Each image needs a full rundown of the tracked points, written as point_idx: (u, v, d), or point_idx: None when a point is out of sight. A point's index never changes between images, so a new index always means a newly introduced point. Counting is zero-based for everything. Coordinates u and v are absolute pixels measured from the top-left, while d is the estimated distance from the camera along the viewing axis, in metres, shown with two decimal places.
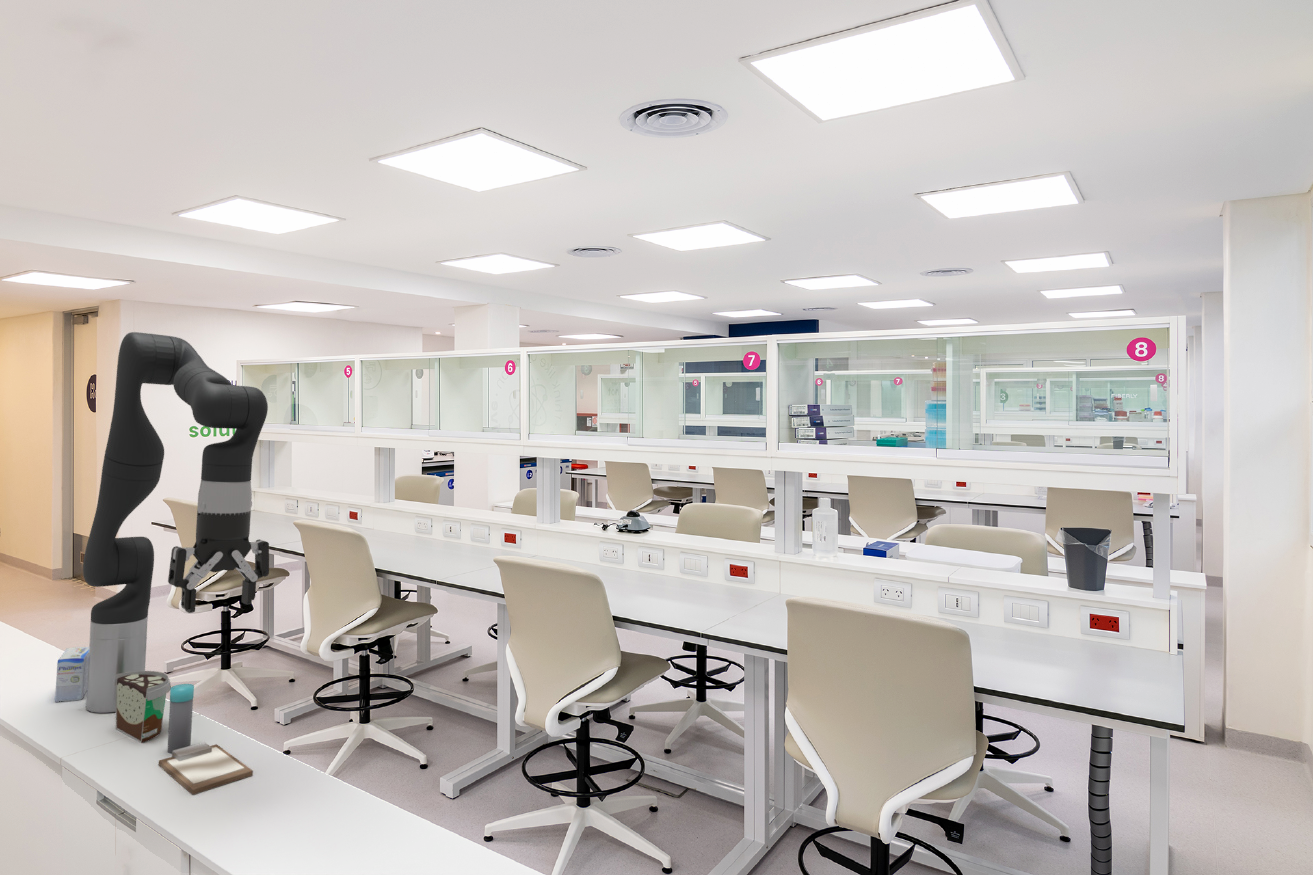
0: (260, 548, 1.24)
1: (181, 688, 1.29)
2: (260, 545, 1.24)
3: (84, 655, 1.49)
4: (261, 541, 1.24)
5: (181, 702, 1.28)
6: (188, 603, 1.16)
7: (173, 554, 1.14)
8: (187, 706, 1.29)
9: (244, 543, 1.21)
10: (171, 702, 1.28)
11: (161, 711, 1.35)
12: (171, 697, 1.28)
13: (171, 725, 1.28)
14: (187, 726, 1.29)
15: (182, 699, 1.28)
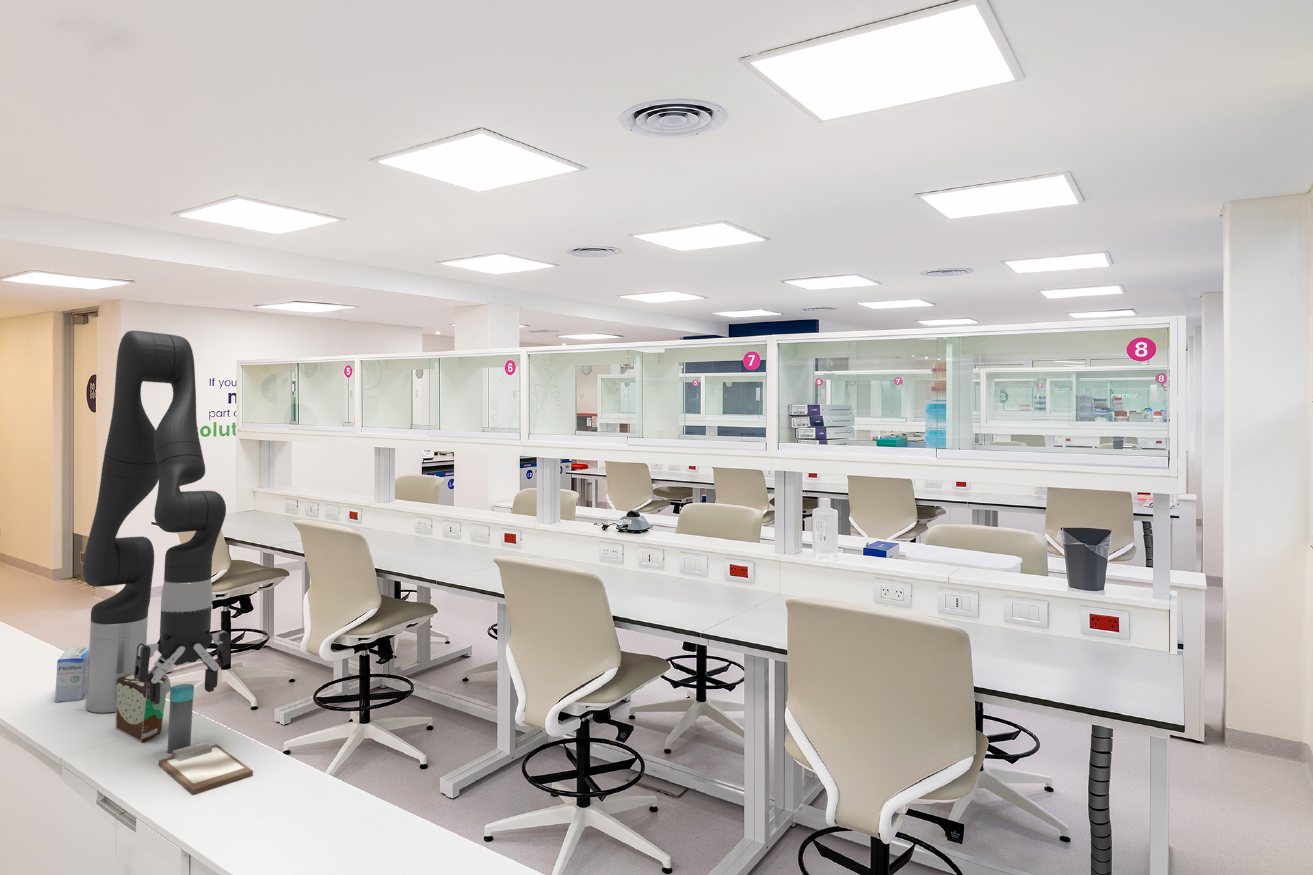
0: (221, 639, 1.33)
1: (181, 688, 1.29)
2: (221, 635, 1.34)
3: (84, 655, 1.49)
4: (222, 632, 1.34)
5: (181, 702, 1.28)
6: (153, 696, 1.25)
7: (138, 651, 1.24)
8: (187, 706, 1.29)
9: (206, 636, 1.31)
10: (171, 702, 1.28)
11: (161, 711, 1.35)
12: (171, 697, 1.28)
13: (171, 725, 1.28)
14: (187, 726, 1.29)
15: (182, 699, 1.28)
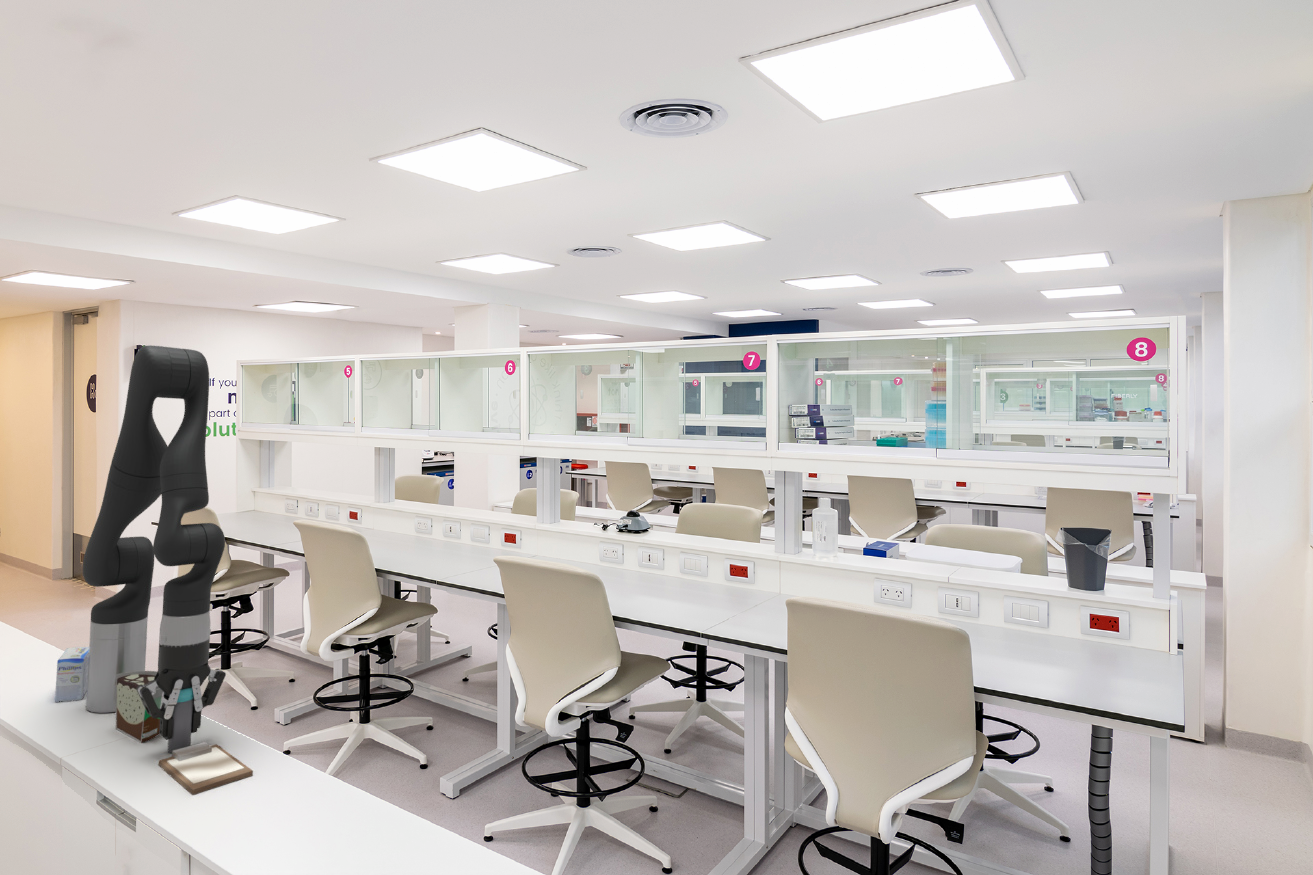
0: (216, 677, 1.33)
1: None
2: (217, 673, 1.34)
3: (84, 655, 1.49)
4: (220, 670, 1.34)
5: (181, 702, 1.28)
6: (165, 731, 1.27)
7: (139, 693, 1.25)
8: (187, 706, 1.29)
9: (206, 667, 1.32)
10: None
11: None
12: None
13: None
14: (187, 726, 1.29)
15: (182, 699, 1.28)
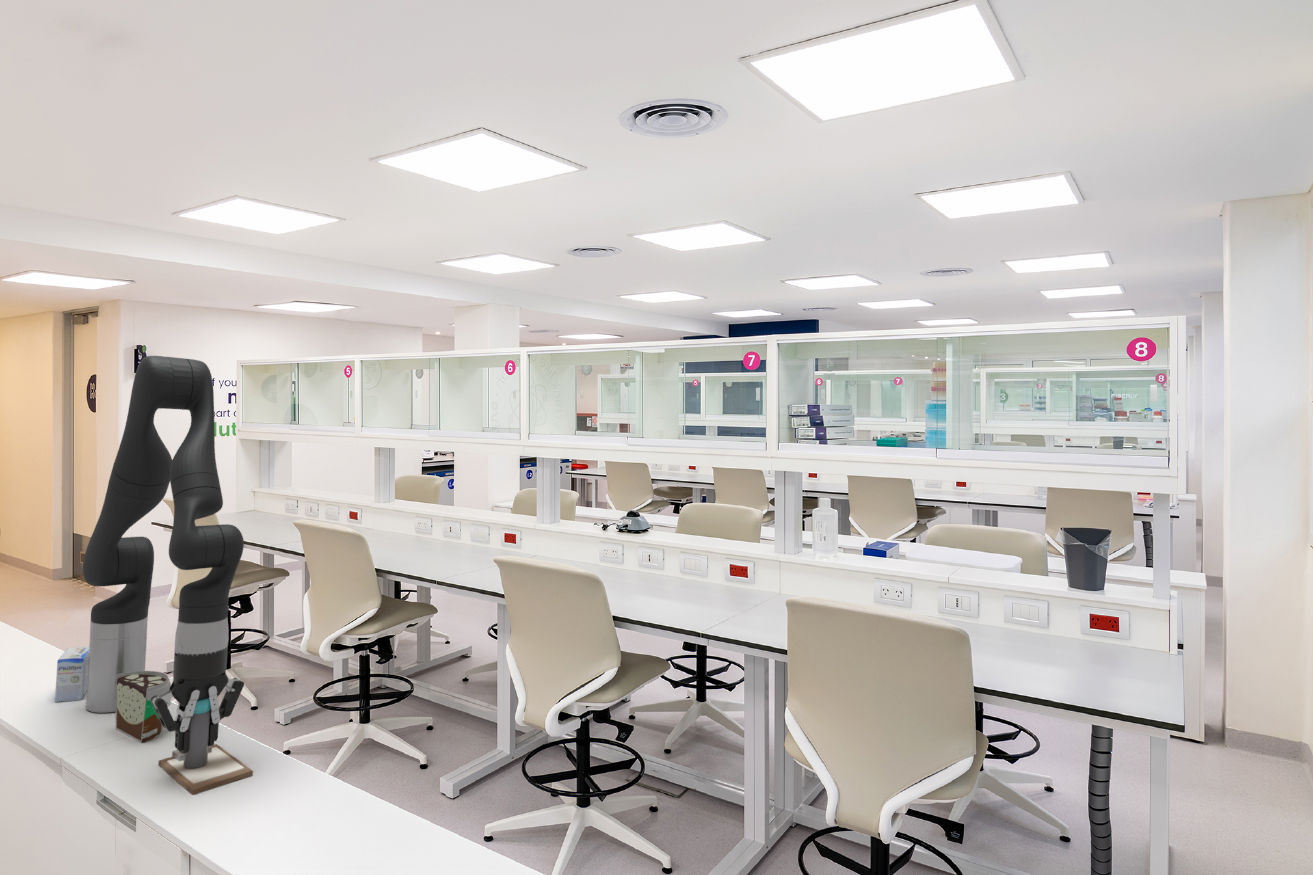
0: (234, 687, 1.26)
1: None
2: (235, 683, 1.27)
3: (84, 655, 1.49)
4: (238, 680, 1.27)
5: (198, 713, 1.21)
6: (181, 744, 1.20)
7: (154, 705, 1.18)
8: (204, 718, 1.22)
9: (223, 677, 1.25)
10: None
11: None
12: None
13: None
14: (204, 739, 1.22)
15: (199, 711, 1.21)
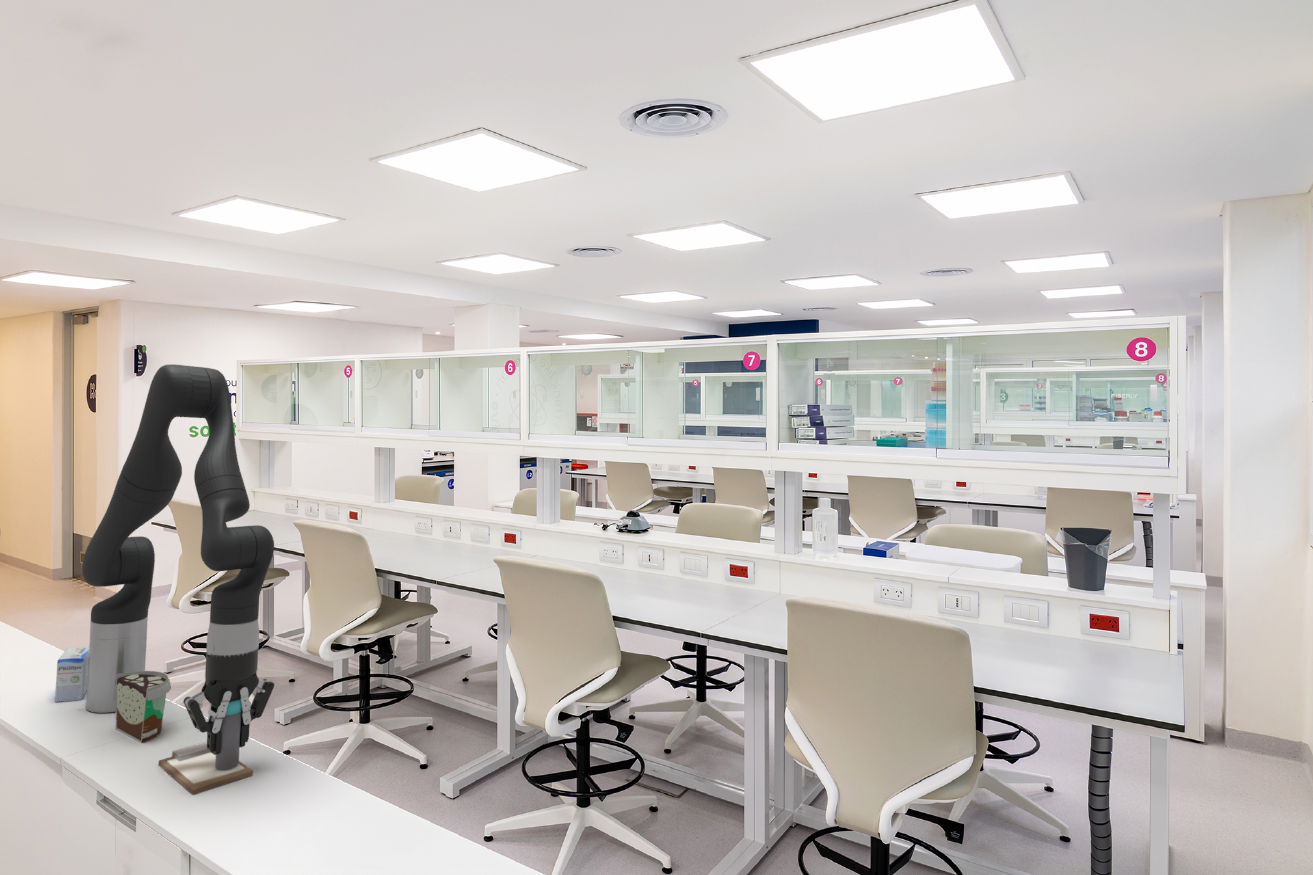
0: (265, 688, 1.26)
1: None
2: (266, 684, 1.27)
3: (84, 655, 1.49)
4: (268, 681, 1.27)
5: (229, 715, 1.21)
6: (213, 745, 1.20)
7: (186, 706, 1.18)
8: (236, 719, 1.22)
9: (254, 678, 1.25)
10: None
11: (161, 711, 1.35)
12: None
13: None
14: (235, 740, 1.22)
15: (231, 712, 1.21)
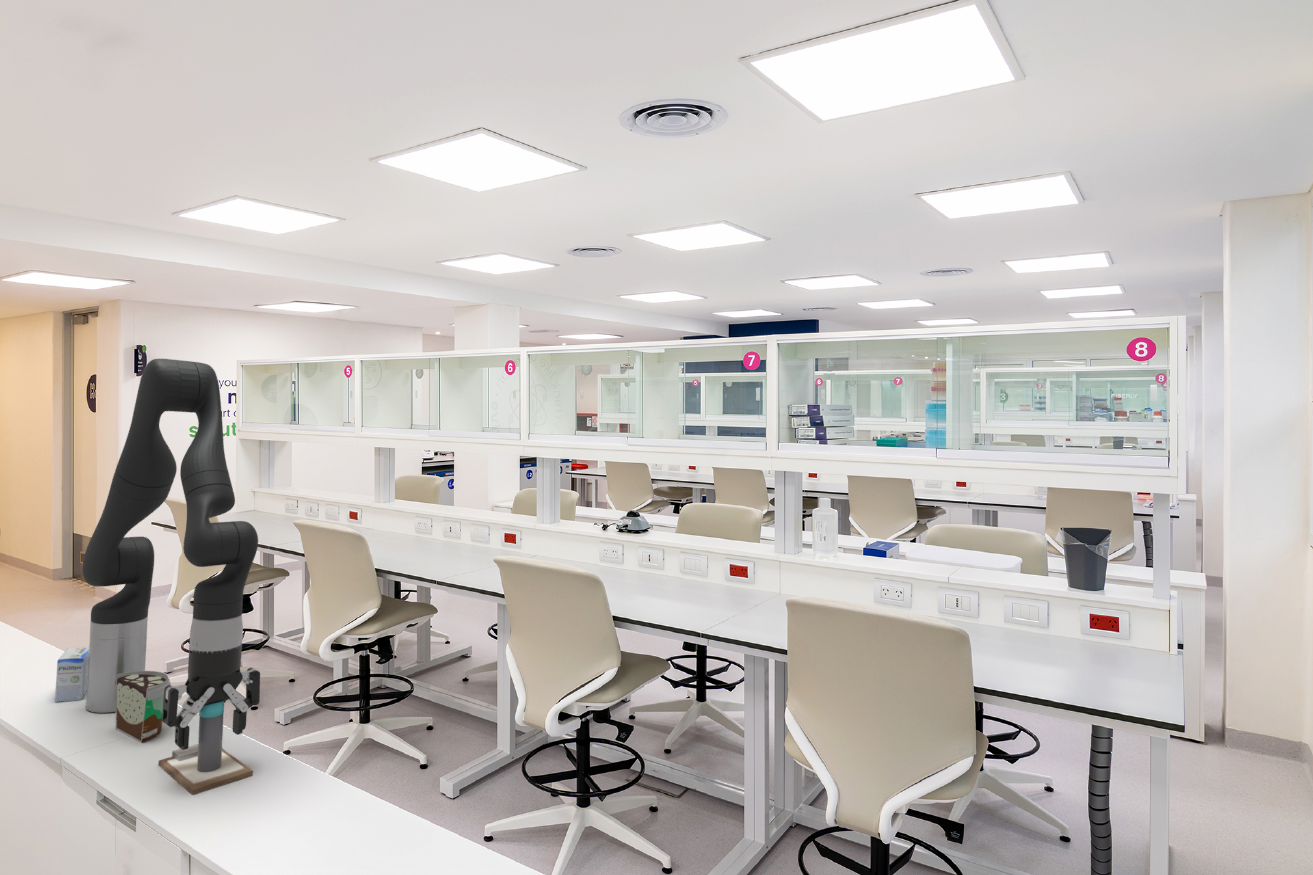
0: (251, 678, 1.26)
1: None
2: (251, 674, 1.26)
3: (84, 655, 1.49)
4: (252, 670, 1.27)
5: (211, 717, 1.21)
6: (181, 740, 1.18)
7: (165, 694, 1.17)
8: (218, 722, 1.21)
9: (236, 675, 1.24)
10: (201, 717, 1.21)
11: (161, 711, 1.35)
12: (201, 712, 1.21)
13: (201, 742, 1.20)
14: (217, 743, 1.22)
15: (212, 714, 1.21)
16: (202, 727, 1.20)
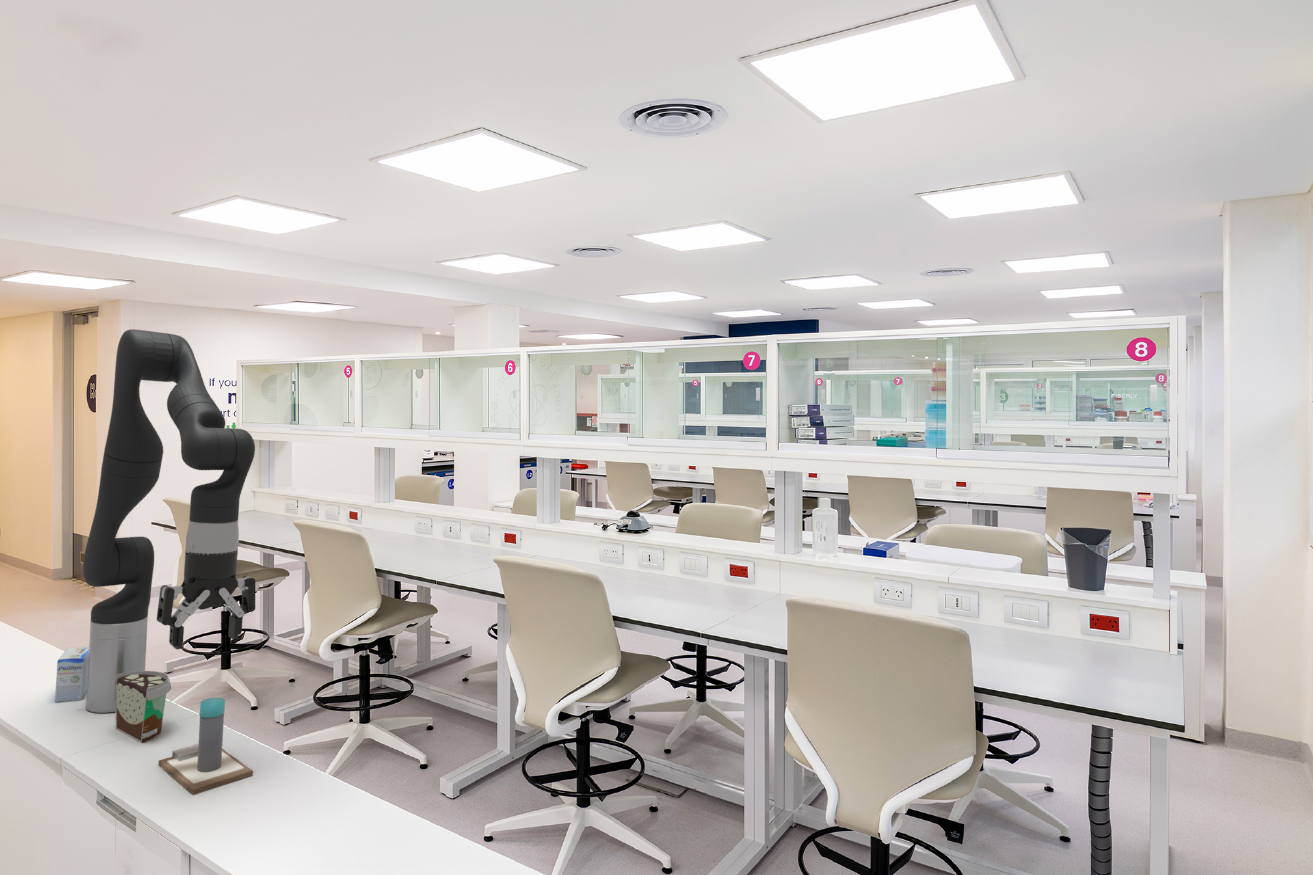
0: (247, 584, 1.27)
1: (212, 702, 1.21)
2: (246, 581, 1.27)
3: (84, 655, 1.49)
4: (248, 577, 1.28)
5: (212, 717, 1.21)
6: (176, 640, 1.19)
7: (161, 593, 1.18)
8: (218, 722, 1.21)
9: (231, 580, 1.25)
10: (201, 717, 1.21)
11: (161, 711, 1.35)
12: (201, 712, 1.21)
13: (201, 742, 1.21)
14: (218, 743, 1.22)
15: (213, 714, 1.21)
16: (202, 727, 1.20)
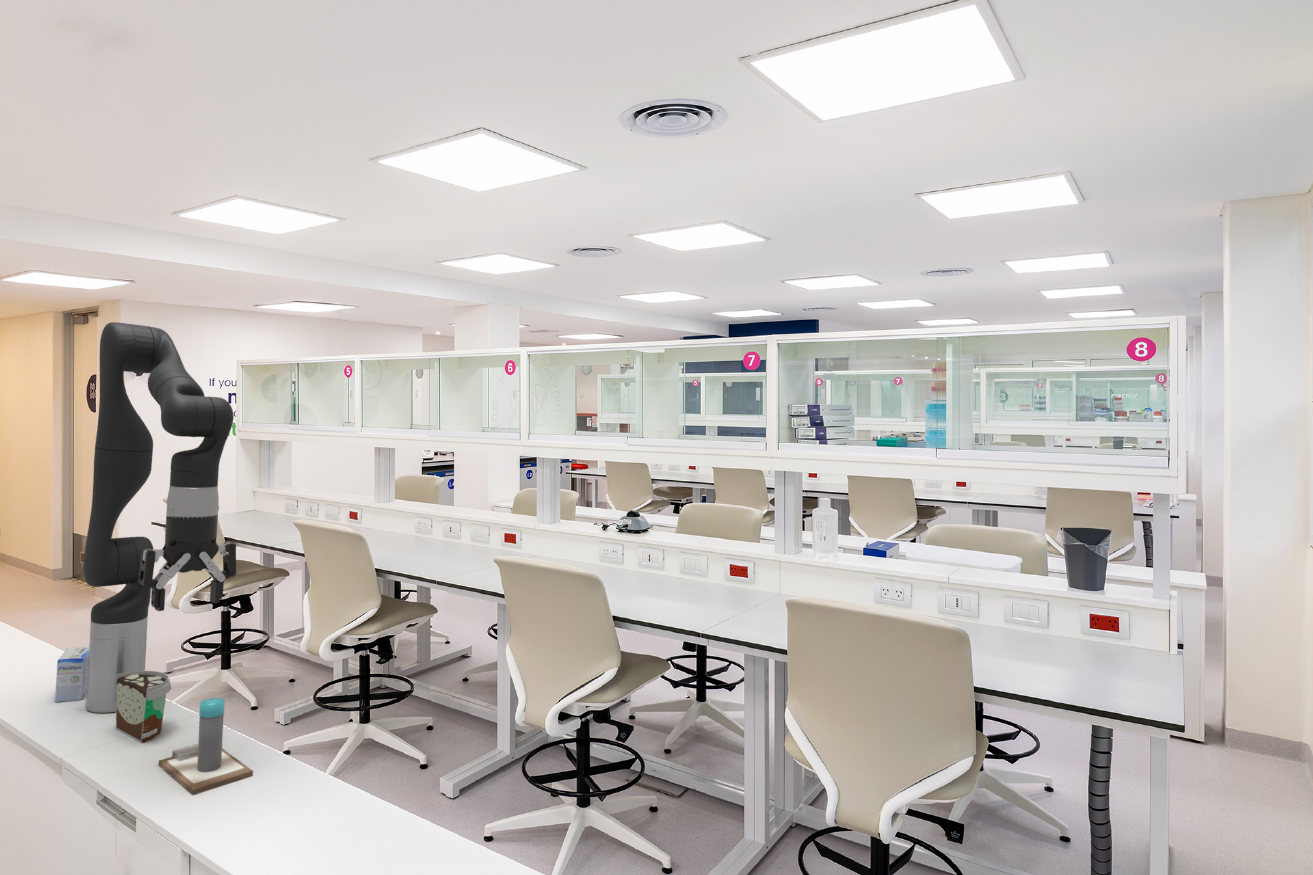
0: (227, 550, 1.31)
1: (211, 702, 1.21)
2: (227, 546, 1.31)
3: (84, 655, 1.49)
4: (228, 543, 1.31)
5: (211, 717, 1.21)
6: (157, 602, 1.23)
7: (143, 556, 1.21)
8: (218, 722, 1.21)
9: (211, 545, 1.28)
10: (201, 718, 1.21)
11: (161, 711, 1.35)
12: (201, 712, 1.20)
13: (201, 742, 1.20)
14: (217, 743, 1.22)
15: (213, 714, 1.21)
16: (202, 727, 1.20)
